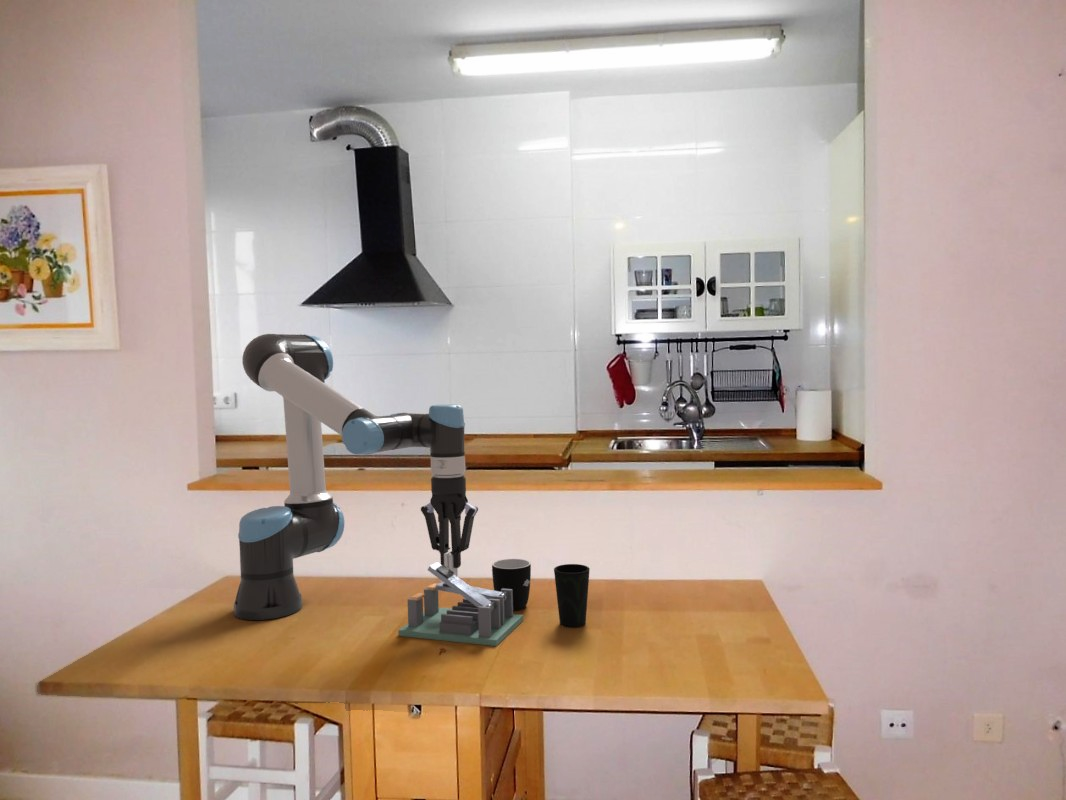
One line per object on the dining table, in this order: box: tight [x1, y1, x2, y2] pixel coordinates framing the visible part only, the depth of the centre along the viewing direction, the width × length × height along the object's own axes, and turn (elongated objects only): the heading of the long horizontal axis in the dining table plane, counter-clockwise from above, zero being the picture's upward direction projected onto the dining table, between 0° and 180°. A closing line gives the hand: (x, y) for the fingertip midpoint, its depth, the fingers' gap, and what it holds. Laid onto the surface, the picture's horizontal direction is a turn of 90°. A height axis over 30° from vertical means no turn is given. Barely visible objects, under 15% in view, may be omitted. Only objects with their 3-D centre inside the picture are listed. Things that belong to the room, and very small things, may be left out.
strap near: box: [427, 561, 496, 611], centre depth 159 cm, size 16×4×2 cm
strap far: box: [436, 580, 509, 601], centre depth 166 cm, size 16×4×2 cm, turn 71°
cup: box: [553, 563, 591, 629], centre depth 165 cm, size 8×8×12 cm
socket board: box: [397, 583, 524, 647], centre depth 163 cm, size 22×16×8 cm
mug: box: [491, 558, 532, 612], centre depth 179 cm, size 12×9×10 cm
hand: (451, 581), depth 168 cm, fingers closed, pressing on strap far
